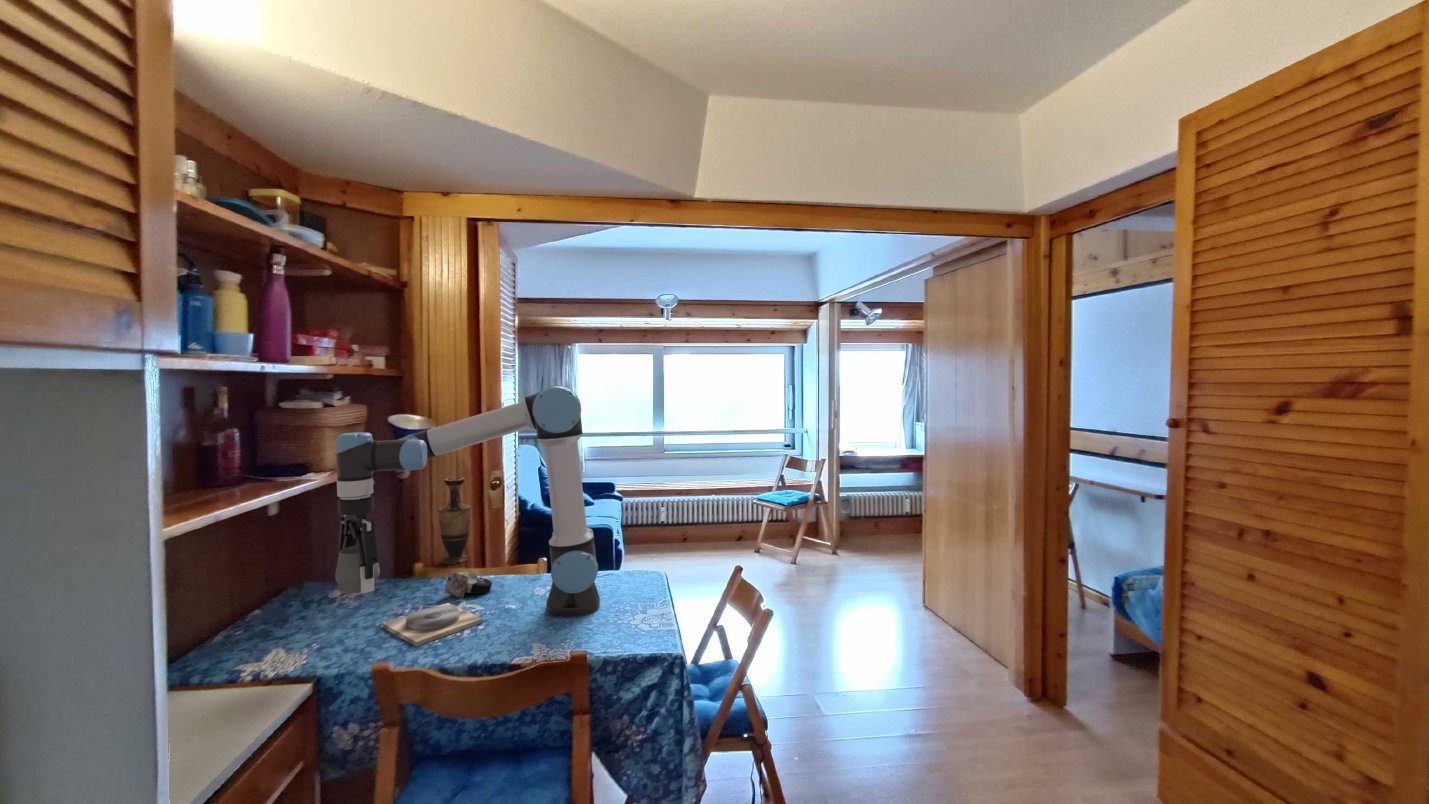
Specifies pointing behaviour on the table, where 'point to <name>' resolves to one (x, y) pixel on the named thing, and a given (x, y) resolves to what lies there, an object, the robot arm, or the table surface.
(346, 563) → the cup
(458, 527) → the vase
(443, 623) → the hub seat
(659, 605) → the table surface
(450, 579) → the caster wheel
